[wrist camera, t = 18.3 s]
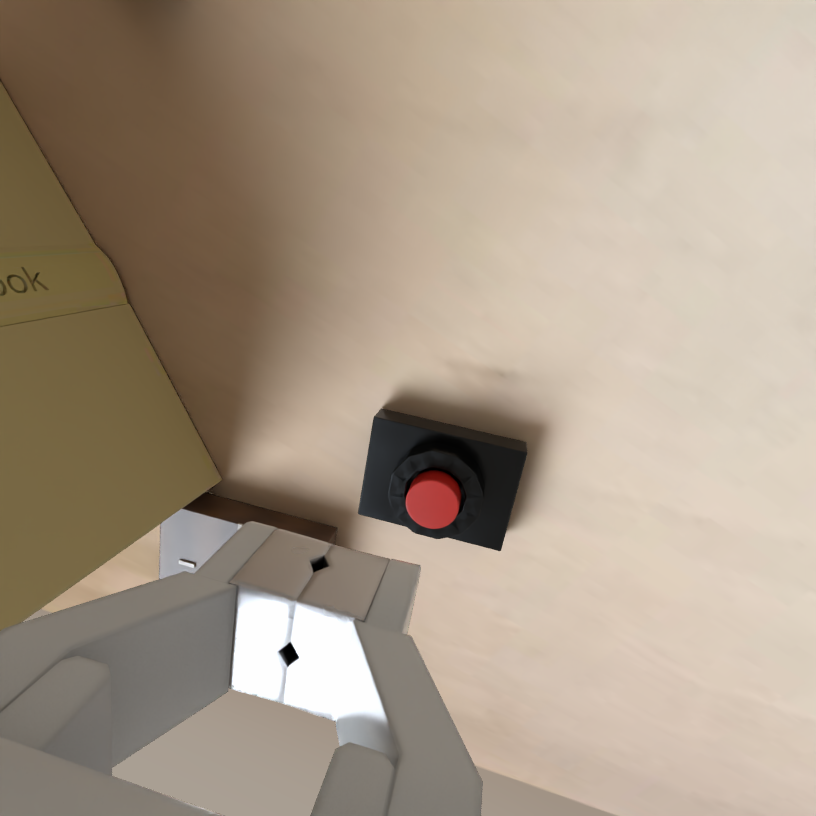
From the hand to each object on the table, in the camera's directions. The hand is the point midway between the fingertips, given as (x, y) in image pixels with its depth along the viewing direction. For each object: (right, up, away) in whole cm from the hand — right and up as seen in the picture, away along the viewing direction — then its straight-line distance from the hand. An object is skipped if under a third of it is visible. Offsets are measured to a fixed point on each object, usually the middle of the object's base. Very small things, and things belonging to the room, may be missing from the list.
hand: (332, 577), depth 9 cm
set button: (+3, -3, +27) cm, 27 cm away
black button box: (+4, -2, +30) cm, 31 cm away
